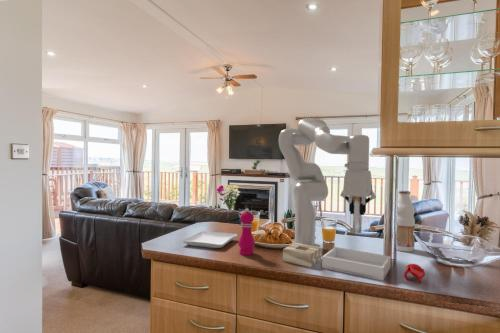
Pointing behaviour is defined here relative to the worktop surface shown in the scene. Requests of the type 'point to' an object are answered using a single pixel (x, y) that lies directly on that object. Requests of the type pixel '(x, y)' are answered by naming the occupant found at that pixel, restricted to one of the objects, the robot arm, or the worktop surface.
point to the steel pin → (357, 214)
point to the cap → (414, 271)
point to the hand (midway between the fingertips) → (357, 213)
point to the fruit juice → (405, 223)
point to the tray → (357, 263)
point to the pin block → (302, 254)
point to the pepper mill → (246, 234)
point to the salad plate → (209, 239)
